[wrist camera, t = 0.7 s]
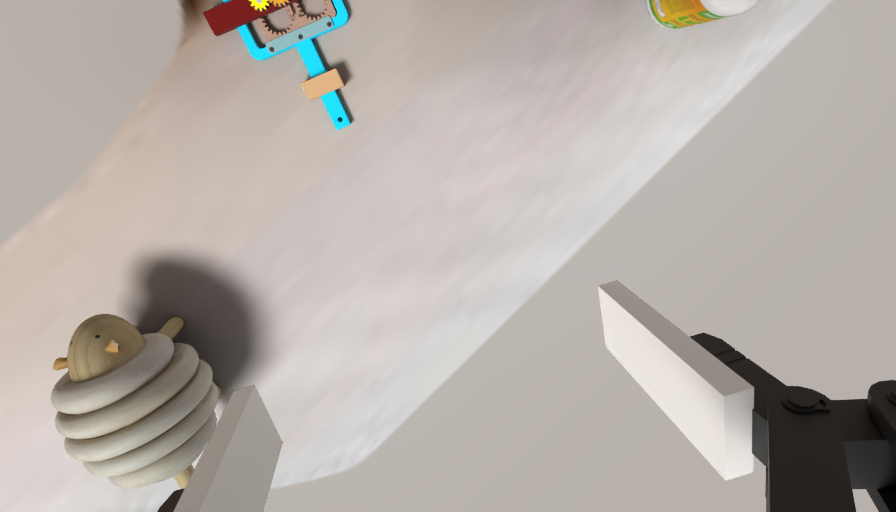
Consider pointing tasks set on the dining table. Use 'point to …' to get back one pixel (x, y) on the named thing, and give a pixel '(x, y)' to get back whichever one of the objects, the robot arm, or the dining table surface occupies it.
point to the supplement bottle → (694, 11)
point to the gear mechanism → (289, 41)
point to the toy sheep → (134, 402)
